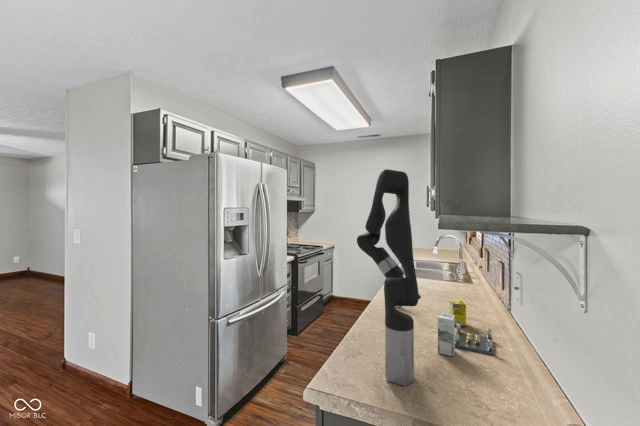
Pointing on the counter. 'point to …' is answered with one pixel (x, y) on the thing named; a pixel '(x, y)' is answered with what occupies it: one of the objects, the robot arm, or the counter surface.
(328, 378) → the counter surface
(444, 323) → the syrup box
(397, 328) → the robot arm
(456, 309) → the supplement box
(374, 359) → the counter surface
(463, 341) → the chassis plate
